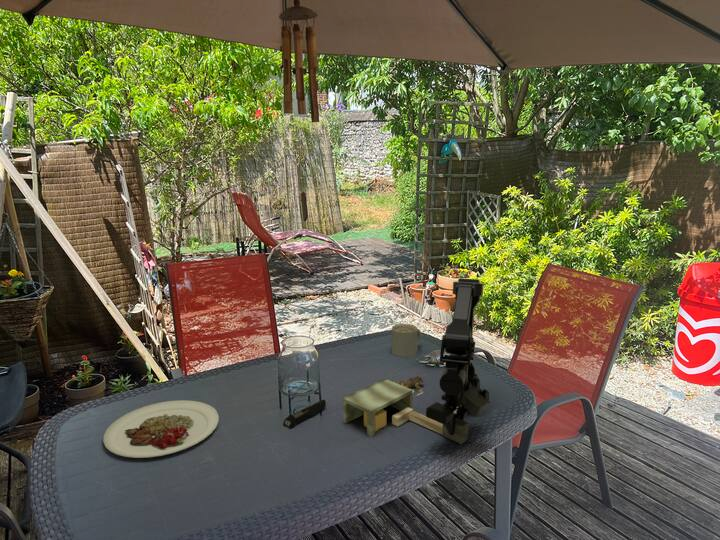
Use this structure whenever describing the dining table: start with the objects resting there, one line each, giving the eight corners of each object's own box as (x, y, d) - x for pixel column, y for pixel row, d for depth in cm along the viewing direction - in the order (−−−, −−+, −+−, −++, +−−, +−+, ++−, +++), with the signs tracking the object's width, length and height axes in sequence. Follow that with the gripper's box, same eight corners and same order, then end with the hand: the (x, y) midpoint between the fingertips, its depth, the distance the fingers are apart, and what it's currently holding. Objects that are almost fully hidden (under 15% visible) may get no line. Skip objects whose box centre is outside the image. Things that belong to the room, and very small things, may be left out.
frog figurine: (415, 379, 173) (415, 368, 172) (432, 394, 162) (433, 382, 161) (384, 385, 169) (384, 374, 168) (400, 400, 158) (400, 389, 157)
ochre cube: (374, 419, 146) (374, 405, 145) (386, 425, 142) (386, 410, 141) (363, 425, 142) (363, 411, 142) (375, 431, 139) (375, 416, 138)
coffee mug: (400, 359, 189) (400, 333, 187) (386, 350, 197) (386, 326, 195) (429, 352, 195) (430, 327, 193) (415, 344, 203) (415, 320, 201)
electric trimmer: (329, 410, 152) (328, 400, 152) (291, 430, 141) (290, 420, 140) (320, 406, 155) (320, 397, 154) (282, 426, 143) (281, 415, 143)
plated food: (166, 398, 161) (165, 388, 160) (241, 418, 148) (240, 407, 147) (78, 446, 135) (77, 434, 134) (160, 475, 122) (159, 462, 121)
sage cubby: (384, 401, 156) (384, 378, 155) (412, 413, 149) (412, 389, 147) (343, 422, 144) (342, 397, 143) (371, 436, 137) (370, 411, 135)
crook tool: (409, 414, 148) (409, 398, 147) (467, 439, 134) (468, 422, 133) (392, 423, 142) (392, 407, 141) (451, 451, 129) (451, 433, 128)
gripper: (462, 400, 119) (460, 459, 123) (502, 375, 132) (500, 429, 135) (424, 386, 127) (424, 442, 130) (466, 364, 140) (464, 415, 143)
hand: (454, 432), depth 135 cm, fingers closed on crook tool, 3 cm apart
